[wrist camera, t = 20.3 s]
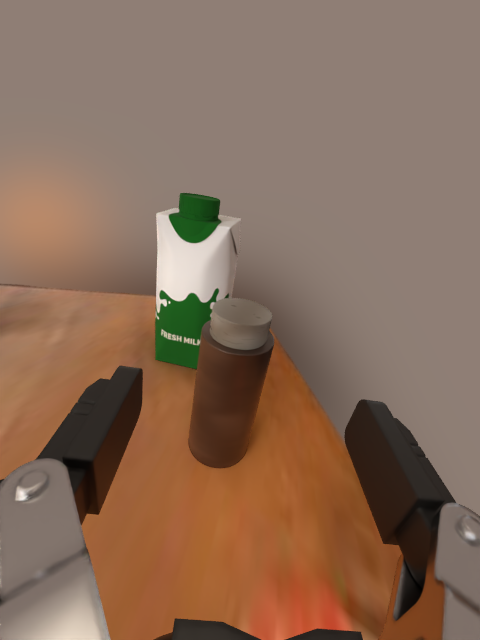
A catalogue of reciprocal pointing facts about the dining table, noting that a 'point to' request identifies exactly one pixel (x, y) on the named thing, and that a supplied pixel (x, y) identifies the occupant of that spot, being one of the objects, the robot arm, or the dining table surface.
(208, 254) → the milk carton
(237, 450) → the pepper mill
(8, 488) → the robot arm
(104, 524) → the dining table surface
